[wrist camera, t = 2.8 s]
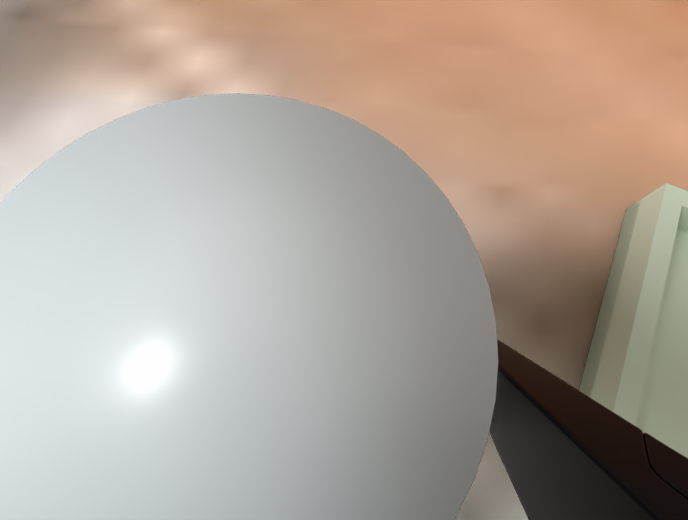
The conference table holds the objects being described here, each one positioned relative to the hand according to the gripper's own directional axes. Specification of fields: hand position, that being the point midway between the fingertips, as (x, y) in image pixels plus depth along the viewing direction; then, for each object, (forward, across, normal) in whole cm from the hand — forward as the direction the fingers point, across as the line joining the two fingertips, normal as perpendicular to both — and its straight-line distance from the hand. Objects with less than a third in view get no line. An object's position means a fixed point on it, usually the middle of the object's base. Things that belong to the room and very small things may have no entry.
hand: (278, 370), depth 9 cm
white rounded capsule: (+6, 0, +6) cm, 8 cm away
